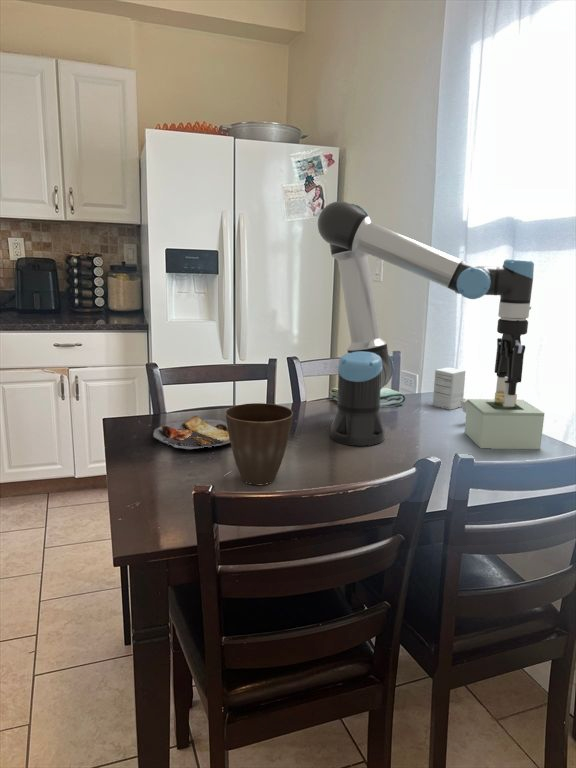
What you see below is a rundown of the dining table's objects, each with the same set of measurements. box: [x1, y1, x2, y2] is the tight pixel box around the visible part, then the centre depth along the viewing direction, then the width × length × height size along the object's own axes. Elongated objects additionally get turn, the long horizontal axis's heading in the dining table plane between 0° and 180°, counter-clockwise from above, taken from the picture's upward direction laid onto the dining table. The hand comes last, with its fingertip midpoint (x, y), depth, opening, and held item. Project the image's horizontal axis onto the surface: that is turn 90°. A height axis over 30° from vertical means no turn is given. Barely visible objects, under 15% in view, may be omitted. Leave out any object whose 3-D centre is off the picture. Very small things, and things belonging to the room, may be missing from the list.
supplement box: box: [432, 366, 466, 411], centre depth 193 cm, size 7×7×13 cm
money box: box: [464, 398, 545, 450], centre depth 159 cm, size 16×14×10 cm
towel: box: [329, 386, 407, 409], centre depth 199 cm, size 18×21×5 cm
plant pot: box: [224, 402, 294, 484], centre depth 128 cm, size 15×15×16 cm
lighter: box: [460, 398, 468, 414], centre depth 174 cm, size 7×2×8 cm, turn 118°
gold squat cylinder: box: [494, 391, 518, 407], centre depth 157 cm, size 6×6×3 cm
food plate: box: [152, 415, 231, 450], centre depth 158 cm, size 25×23×4 cm
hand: (504, 403), depth 157 cm, fingers closed on gold squat cylinder, 5 cm apart
